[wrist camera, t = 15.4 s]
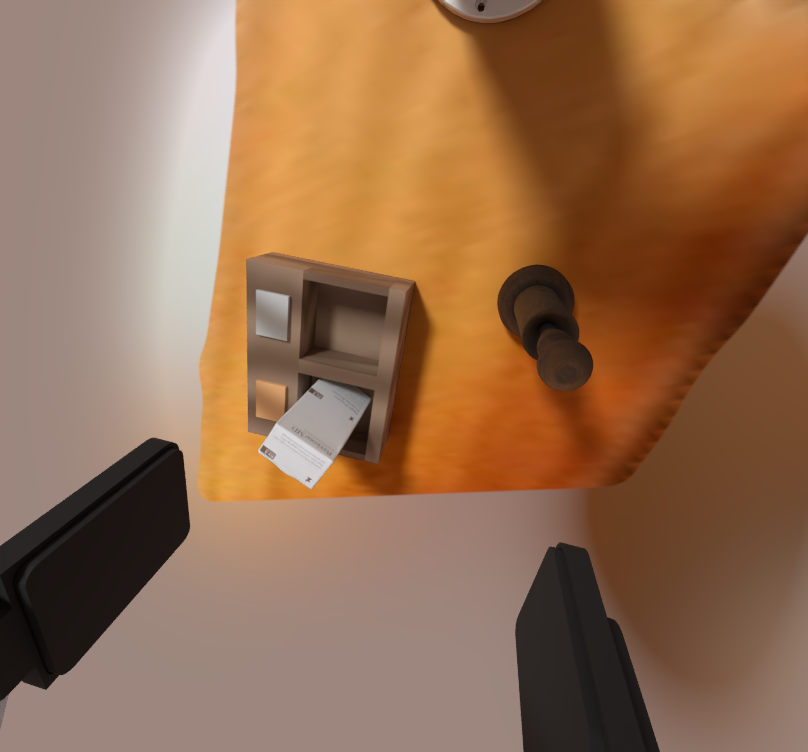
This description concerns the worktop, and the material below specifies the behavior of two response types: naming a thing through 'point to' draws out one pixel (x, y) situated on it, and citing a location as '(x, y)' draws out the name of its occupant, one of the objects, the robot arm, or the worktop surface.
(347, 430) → the skincare box
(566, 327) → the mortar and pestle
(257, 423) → the socket block
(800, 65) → the worktop surface
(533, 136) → the worktop surface
